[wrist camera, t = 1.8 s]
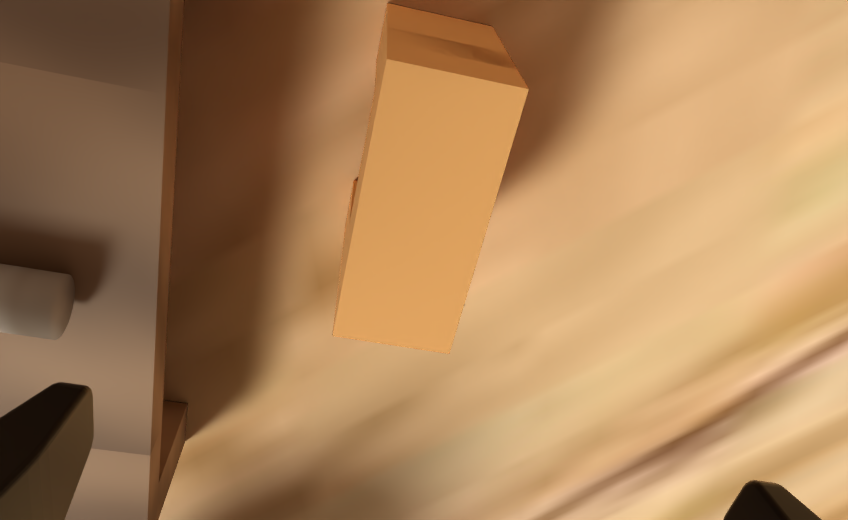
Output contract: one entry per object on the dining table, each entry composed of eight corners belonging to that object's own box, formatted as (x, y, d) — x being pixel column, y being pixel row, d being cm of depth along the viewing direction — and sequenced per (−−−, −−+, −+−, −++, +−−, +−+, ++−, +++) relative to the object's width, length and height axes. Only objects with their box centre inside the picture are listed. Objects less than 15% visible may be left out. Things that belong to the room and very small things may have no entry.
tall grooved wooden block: (435, 241, 23) (449, 354, 18) (345, 224, 23) (332, 335, 18) (492, 26, 20) (529, 89, 15) (387, 2, 19) (386, 58, 14)
